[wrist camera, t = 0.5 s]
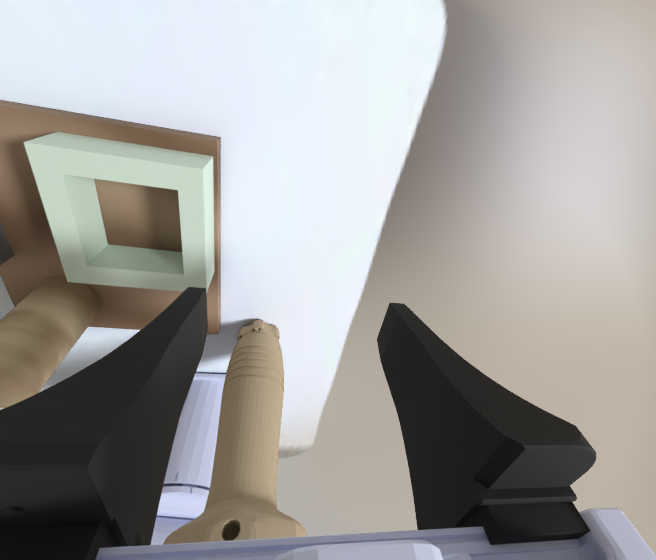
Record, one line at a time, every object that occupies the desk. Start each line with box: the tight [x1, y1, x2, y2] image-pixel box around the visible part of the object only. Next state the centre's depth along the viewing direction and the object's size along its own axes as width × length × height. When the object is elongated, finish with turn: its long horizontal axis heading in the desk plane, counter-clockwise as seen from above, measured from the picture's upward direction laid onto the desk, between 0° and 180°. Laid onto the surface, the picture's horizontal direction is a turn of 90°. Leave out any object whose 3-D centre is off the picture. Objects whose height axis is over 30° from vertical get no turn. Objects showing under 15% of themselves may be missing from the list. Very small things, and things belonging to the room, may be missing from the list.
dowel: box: [0, 276, 102, 408], centre depth 19 cm, size 4×4×7 cm
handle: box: [163, 320, 307, 544], centre depth 20 cm, size 5×6×15 cm
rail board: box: [0, 100, 220, 334], centre depth 18 cm, size 14×13×5 cm
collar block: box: [24, 132, 215, 294], centre depth 18 cm, size 7×7×2 cm
